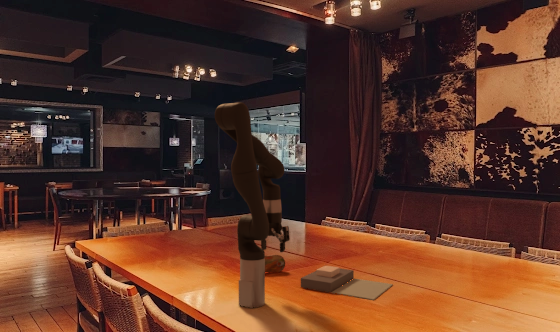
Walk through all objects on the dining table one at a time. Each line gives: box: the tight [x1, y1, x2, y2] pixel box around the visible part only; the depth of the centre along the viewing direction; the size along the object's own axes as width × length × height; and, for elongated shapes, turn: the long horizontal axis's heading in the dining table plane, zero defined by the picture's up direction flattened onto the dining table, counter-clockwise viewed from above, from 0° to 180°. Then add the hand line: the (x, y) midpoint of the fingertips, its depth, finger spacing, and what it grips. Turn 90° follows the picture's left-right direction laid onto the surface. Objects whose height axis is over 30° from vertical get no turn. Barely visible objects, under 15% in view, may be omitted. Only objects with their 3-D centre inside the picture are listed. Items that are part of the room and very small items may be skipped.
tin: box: [265, 254, 286, 273], centre depth 206 cm, size 15×3×8 cm, turn 105°
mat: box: [331, 278, 394, 301], centre depth 179 cm, size 24×18×1 cm
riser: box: [300, 268, 355, 294], centre depth 188 cm, size 24×14×4 cm, turn 148°
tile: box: [315, 265, 340, 277], centre depth 188 cm, size 9×7×2 cm
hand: (273, 250), depth 172 cm, fingers open, 8 cm apart
